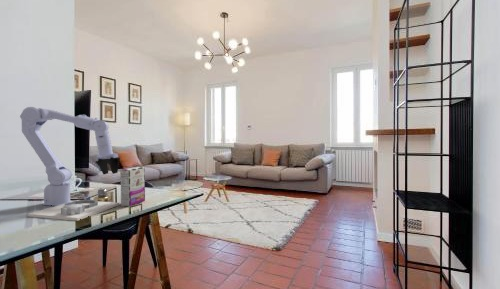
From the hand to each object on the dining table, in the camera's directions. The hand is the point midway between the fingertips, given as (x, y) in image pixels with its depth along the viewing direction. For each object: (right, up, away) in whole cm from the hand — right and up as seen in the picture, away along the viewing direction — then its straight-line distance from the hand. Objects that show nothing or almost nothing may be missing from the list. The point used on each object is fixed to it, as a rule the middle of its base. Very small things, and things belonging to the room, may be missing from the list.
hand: (110, 173), depth 121 cm
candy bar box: (+13, -13, -4) cm, 19 cm away
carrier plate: (-5, -13, -16) cm, 21 cm away
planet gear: (-5, -13, +1) cm, 14 cm away
